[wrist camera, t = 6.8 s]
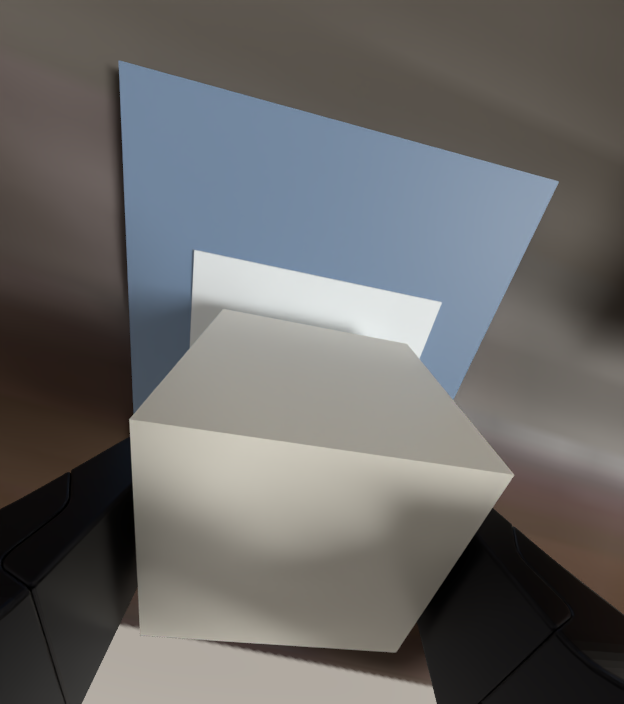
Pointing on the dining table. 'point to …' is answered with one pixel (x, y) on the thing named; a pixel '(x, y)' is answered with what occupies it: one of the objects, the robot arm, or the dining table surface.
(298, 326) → the cream block
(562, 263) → the dining table surface
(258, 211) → the board
